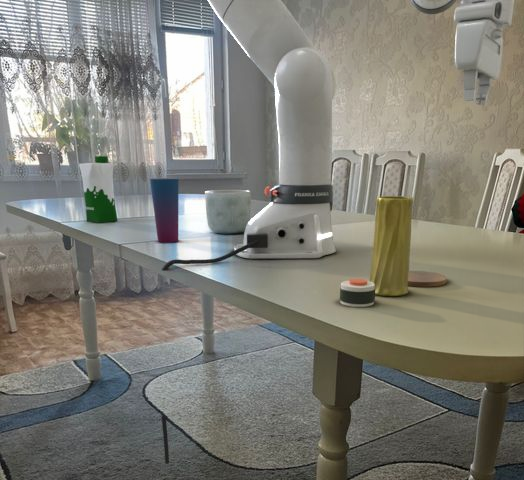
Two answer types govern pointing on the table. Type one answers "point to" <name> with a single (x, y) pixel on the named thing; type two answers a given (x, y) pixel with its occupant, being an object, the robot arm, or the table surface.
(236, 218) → the planter
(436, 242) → the table surface
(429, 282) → the coaster
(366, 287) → the sushi
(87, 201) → the milk carton
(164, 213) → the cup
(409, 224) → the vase
